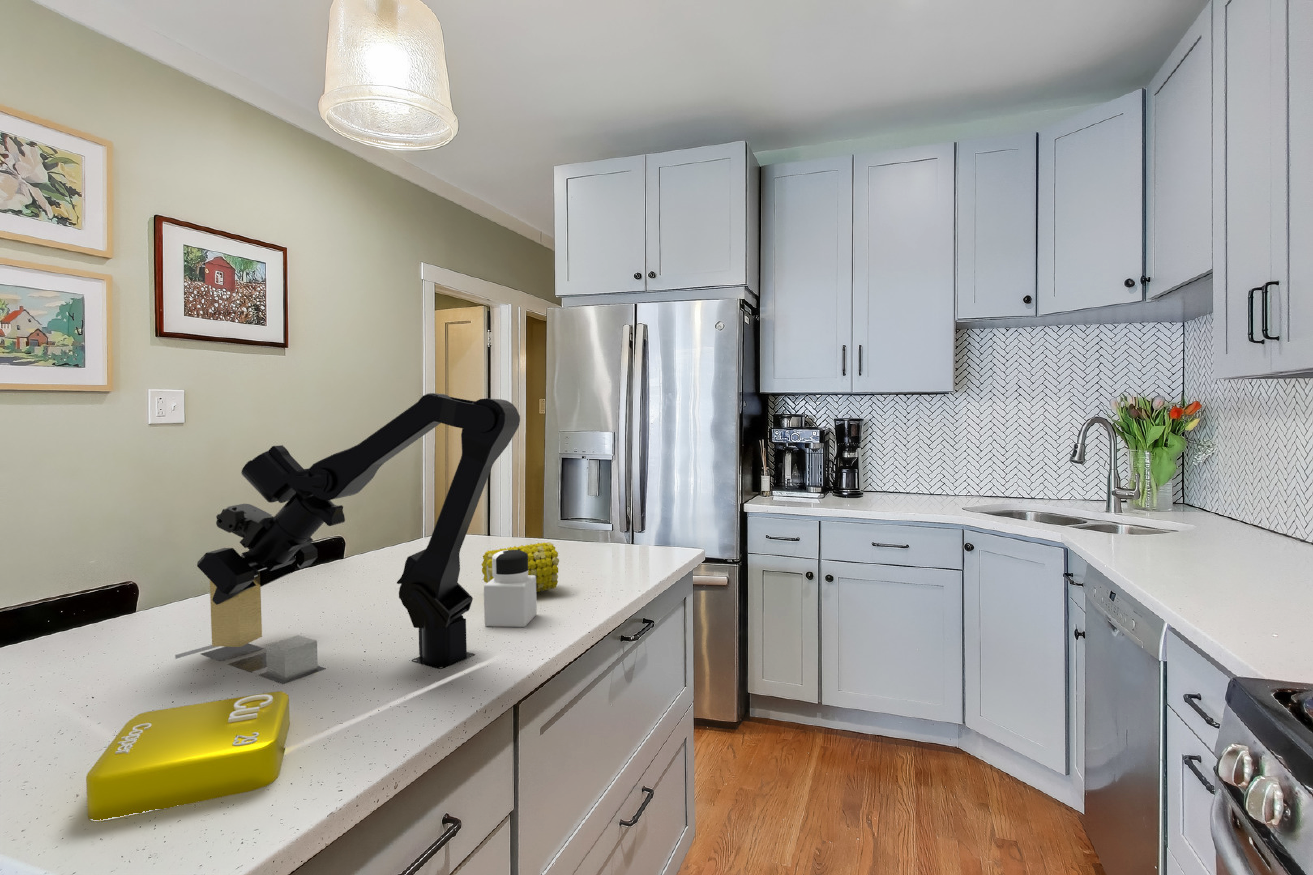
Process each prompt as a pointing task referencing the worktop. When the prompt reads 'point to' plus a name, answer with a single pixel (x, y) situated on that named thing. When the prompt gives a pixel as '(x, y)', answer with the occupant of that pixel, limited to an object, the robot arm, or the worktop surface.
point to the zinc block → (291, 657)
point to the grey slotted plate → (245, 664)
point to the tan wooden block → (237, 617)
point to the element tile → (190, 755)
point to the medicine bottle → (510, 591)
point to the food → (531, 564)
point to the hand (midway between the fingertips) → (227, 597)
